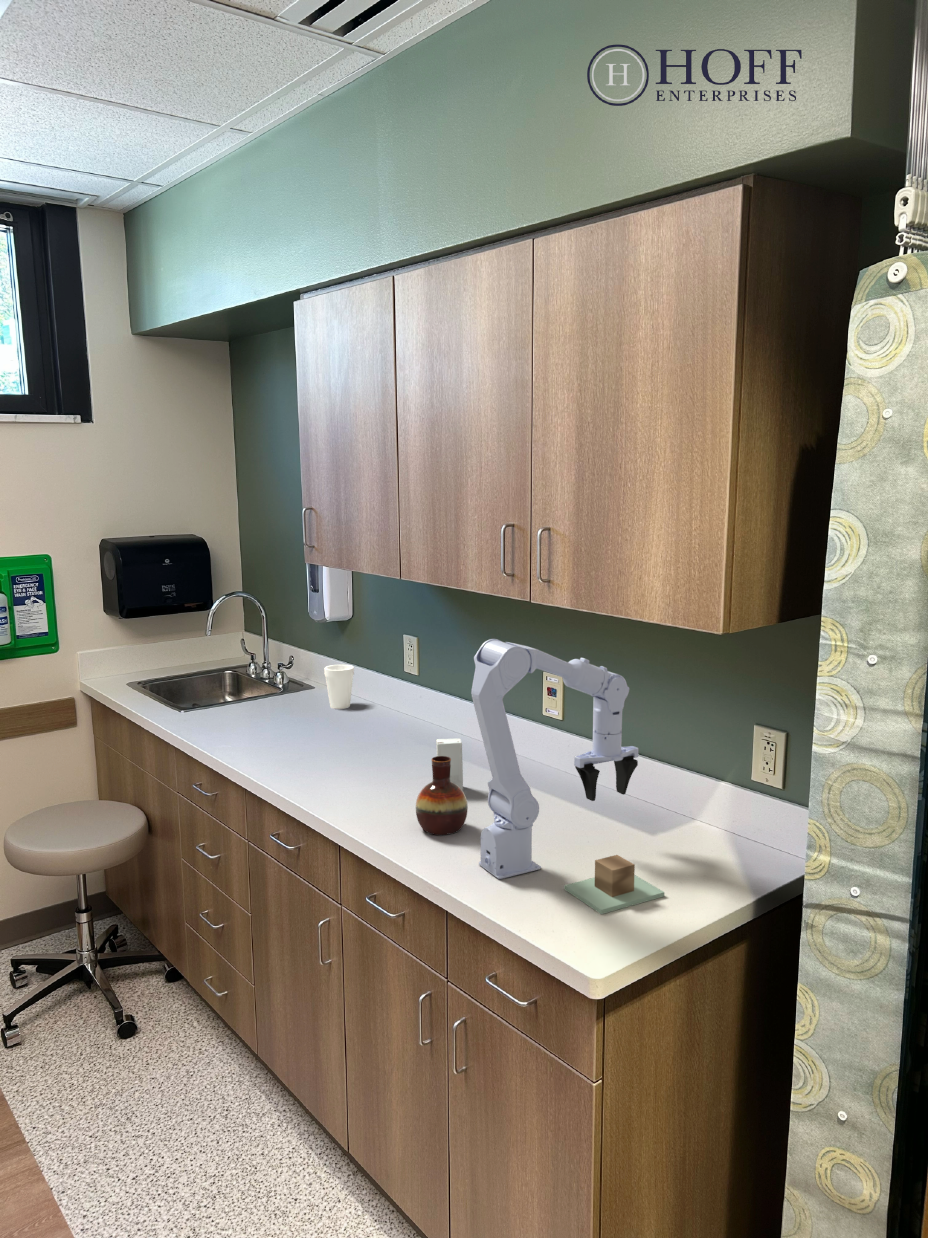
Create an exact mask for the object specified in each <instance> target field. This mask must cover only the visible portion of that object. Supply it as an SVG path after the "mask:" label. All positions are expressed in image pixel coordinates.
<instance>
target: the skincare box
mask: <svg viewBox="0 0 928 1238" xmlns="http://www.w3.org/2000/svg"><path fill="white" fill-rule="evenodd" d="M435 741H436V744H435V745H436V756H447V757H450V758H451V768H450V781H451V782H453V783H455V784H456V785H457V786H459V787H460V788H461V790H462V791H463V792H464V776H463V775H464V773H463V771H464V770H463V769H464V767H463V764H464V763H463V743H462V739H461V738H438V739H436V740H435Z"/></svg>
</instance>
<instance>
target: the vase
mask: <svg viewBox="0 0 928 1238" xmlns="http://www.w3.org/2000/svg"><path fill="white" fill-rule="evenodd" d="M450 768H451V758H450V757H447V756H437V755H436V756H434V757H432V758H431V770H432V781H431V782H429V783H427V784H426V785H425V786H424V787H423V788H422V789H421V790H420V791H419V793H418V795H417V798H416V801H415V814H416V819H417V821H418V824H419V826H420V827H421V829H422V830H424V831H425V832H426V833H428V834H431V835H436V836H437V835H438V836H447V835H451V834H455V833H457V832H459V830H461V829H462V828H463V826H464V824H465V823H466V819H467V816H468V809H469V808H468V807H469V805H468V799H467V796H466V795H465V792H464V790H463V791H462V790H461V788H460V787H459V786H457V785H456V784H455V783H453V782H451V781H450Z"/></svg>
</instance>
